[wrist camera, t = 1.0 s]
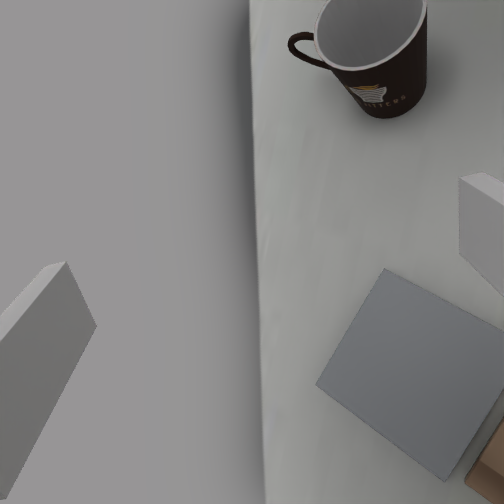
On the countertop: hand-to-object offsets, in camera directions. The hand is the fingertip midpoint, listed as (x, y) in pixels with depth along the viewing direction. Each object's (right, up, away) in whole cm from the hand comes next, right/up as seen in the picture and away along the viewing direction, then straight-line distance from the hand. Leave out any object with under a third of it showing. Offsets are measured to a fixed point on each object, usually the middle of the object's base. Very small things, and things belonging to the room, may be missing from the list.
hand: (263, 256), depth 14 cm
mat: (+13, -9, +21) cm, 27 cm away
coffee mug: (+12, +17, +28) cm, 35 cm away
